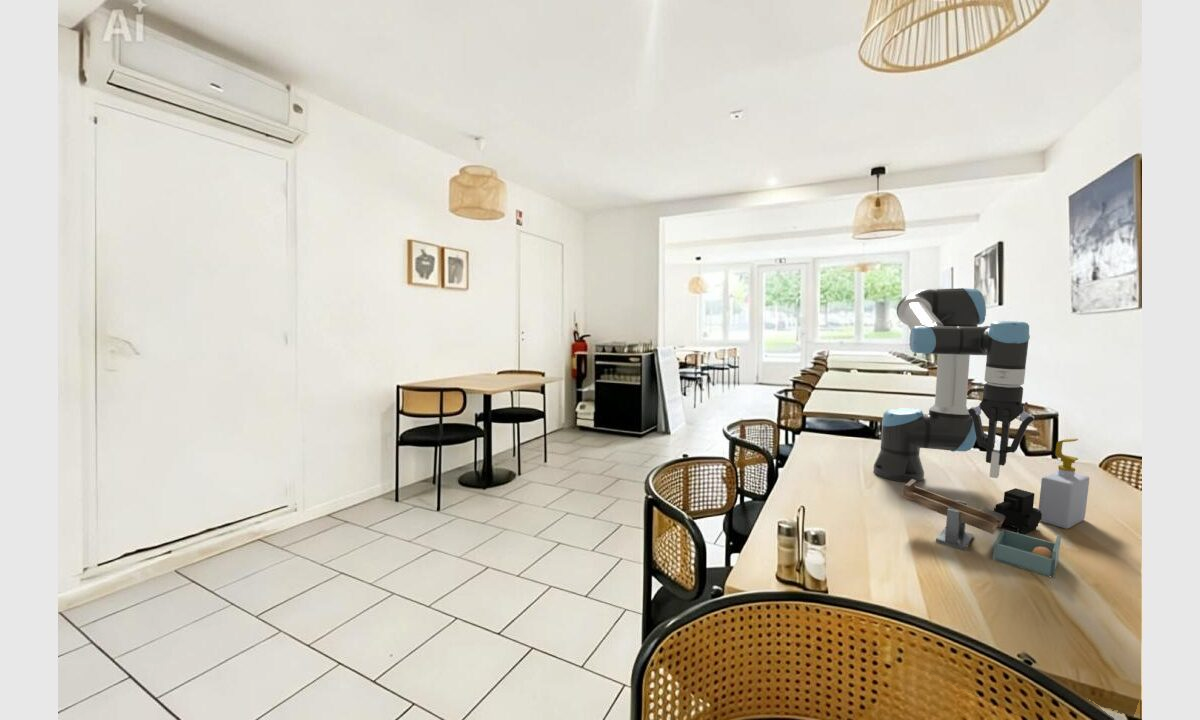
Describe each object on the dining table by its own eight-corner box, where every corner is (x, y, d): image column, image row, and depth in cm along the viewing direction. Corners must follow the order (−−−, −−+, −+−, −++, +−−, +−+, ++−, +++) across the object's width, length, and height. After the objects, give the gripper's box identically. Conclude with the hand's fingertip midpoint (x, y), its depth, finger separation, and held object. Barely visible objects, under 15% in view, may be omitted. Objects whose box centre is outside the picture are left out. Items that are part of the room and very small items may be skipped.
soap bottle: (1067, 530, 130) (1077, 444, 127) (1036, 520, 136) (1044, 438, 133) (1085, 520, 136) (1095, 438, 133) (1054, 511, 142) (1063, 432, 139)
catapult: (900, 497, 131) (904, 484, 130) (914, 486, 139) (917, 473, 138) (995, 535, 117) (1000, 520, 116) (1004, 519, 125) (1008, 505, 124)
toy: (980, 530, 130) (983, 494, 129) (1008, 519, 137) (1011, 485, 135) (1014, 542, 124) (1018, 504, 123) (1041, 530, 130) (1045, 494, 129)
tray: (992, 559, 116) (994, 535, 115) (1000, 544, 123) (1002, 521, 122) (1053, 577, 108) (1056, 552, 107) (1058, 560, 115) (1061, 536, 114)
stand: (935, 541, 124) (938, 508, 123) (945, 529, 131) (948, 497, 130) (964, 550, 120) (967, 515, 119) (973, 537, 126) (976, 503, 125)
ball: (1036, 546, 112) (1056, 557, 110) (1038, 541, 115) (1057, 551, 112) (1027, 558, 113) (1046, 569, 111) (1030, 552, 116) (1048, 563, 114)
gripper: (967, 383, 122) (959, 473, 126) (1036, 390, 113) (1025, 487, 116) (974, 379, 127) (966, 466, 131) (1040, 385, 118) (1030, 479, 121)
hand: (994, 476), depth 123 cm, fingers closed
